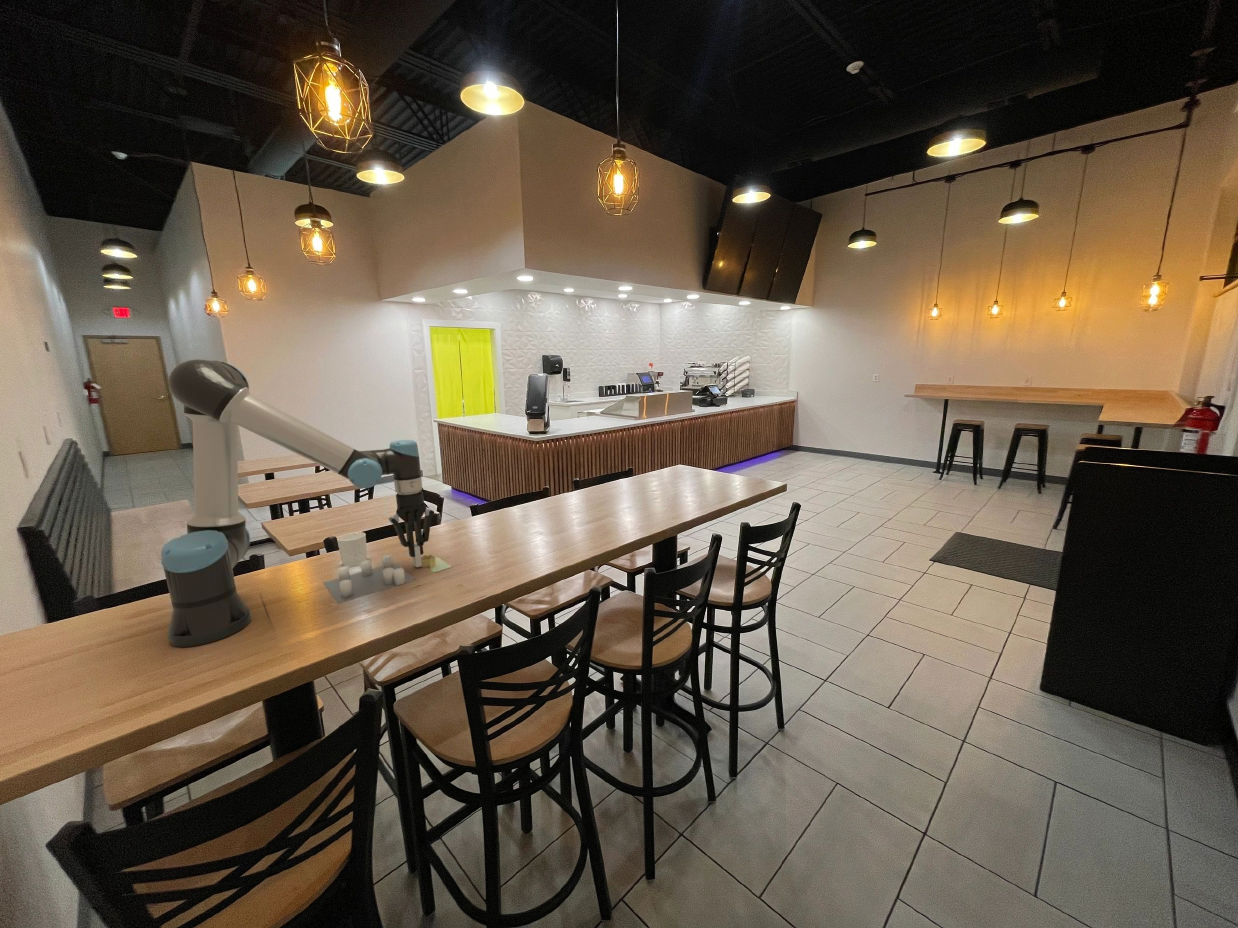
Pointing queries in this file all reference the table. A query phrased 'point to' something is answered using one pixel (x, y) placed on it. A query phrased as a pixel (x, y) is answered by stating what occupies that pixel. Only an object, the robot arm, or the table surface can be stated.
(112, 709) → the table surface
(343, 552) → the white cup
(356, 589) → the spacer board
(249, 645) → the table surface
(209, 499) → the robot arm
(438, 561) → the mat
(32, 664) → the table surface
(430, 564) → the nut
